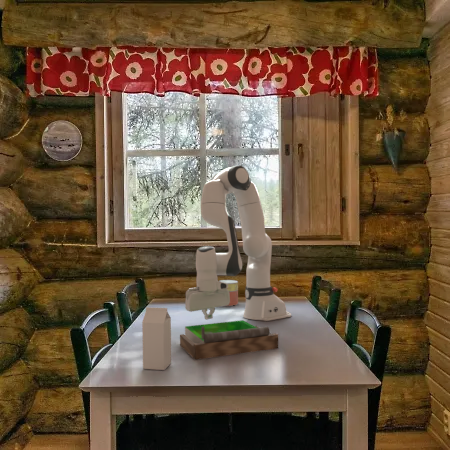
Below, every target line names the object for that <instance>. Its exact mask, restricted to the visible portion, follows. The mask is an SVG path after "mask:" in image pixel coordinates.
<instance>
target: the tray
mask: <svg viewBox="0 0 450 450" xmlns="http://www.w3.org/2000/svg"><path fill="white" fill-rule="evenodd" d="M255 326H256V325H253V324H251V323H250V322H248V321H245V320H234V321H223V322H214V323H206V324H198V325H197V324H196V325H195V324H194V325H188V326H184V329H185V330H184V335H185V336H186V337H188V338H189V339H190V340H191V341H192V342H194V343H201V342H204V339H202V327H205V334H209V333H218V332H226V331H235V330H243V329H252V328H257V327H255Z"/></svg>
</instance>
